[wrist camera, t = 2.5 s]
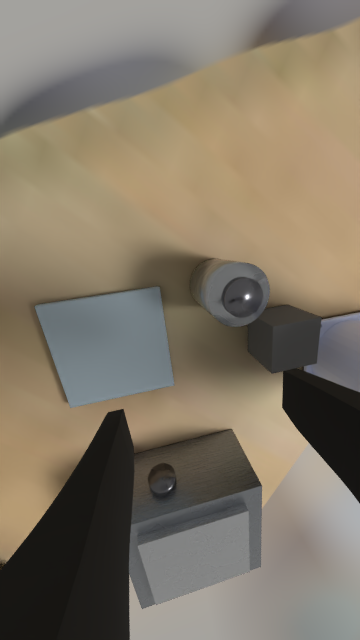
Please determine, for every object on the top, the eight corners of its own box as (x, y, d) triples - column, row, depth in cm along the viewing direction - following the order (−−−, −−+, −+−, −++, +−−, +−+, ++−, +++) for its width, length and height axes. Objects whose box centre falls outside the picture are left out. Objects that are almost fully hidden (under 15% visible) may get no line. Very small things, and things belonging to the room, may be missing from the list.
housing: (231, 424, 23) (266, 487, 17) (235, 501, 28) (264, 575, 21) (118, 452, 22) (110, 534, 15) (140, 530, 26) (142, 619, 20)
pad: (158, 286, 17) (159, 287, 17) (173, 381, 20) (174, 385, 20) (38, 304, 16) (34, 306, 15) (72, 403, 19) (70, 407, 18)
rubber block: (287, 304, 20) (321, 317, 16) (285, 343, 21) (316, 363, 18) (246, 311, 20) (272, 326, 16) (247, 351, 21) (271, 373, 17)
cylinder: (235, 255, 18) (276, 259, 12) (236, 302, 19) (274, 323, 14) (187, 262, 17) (209, 268, 12) (192, 310, 18) (214, 335, 13)
